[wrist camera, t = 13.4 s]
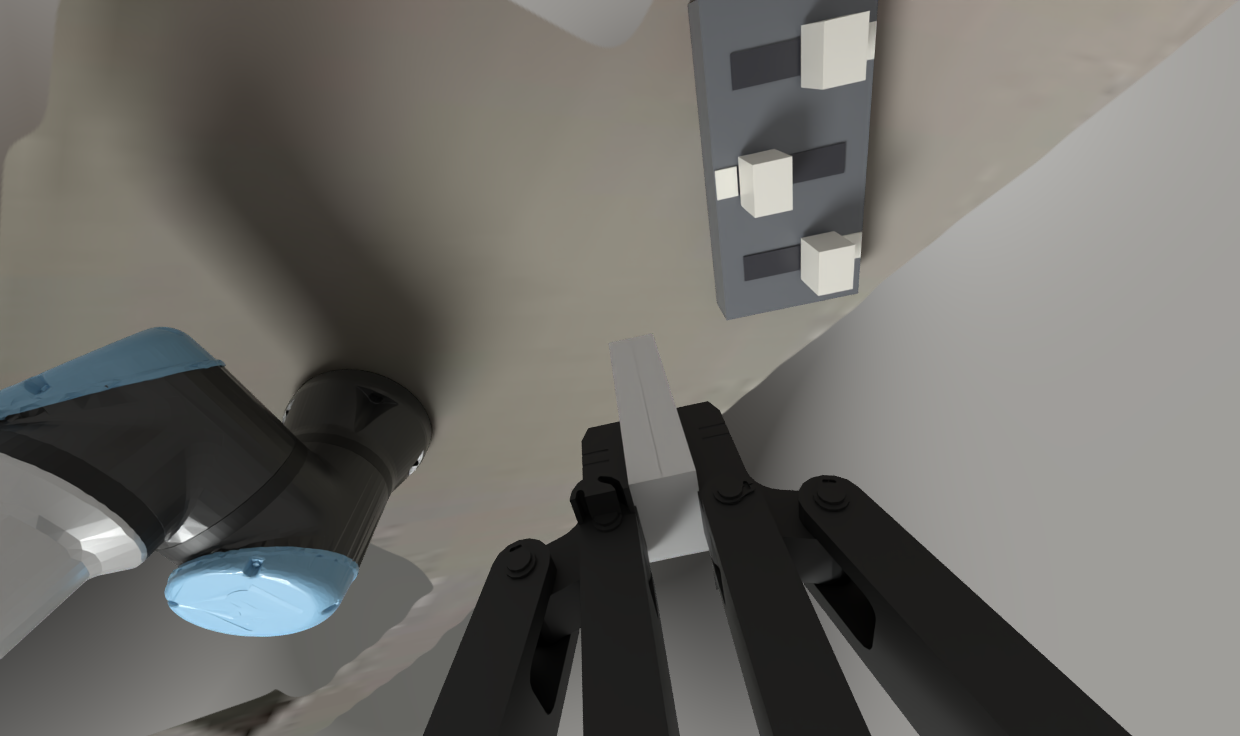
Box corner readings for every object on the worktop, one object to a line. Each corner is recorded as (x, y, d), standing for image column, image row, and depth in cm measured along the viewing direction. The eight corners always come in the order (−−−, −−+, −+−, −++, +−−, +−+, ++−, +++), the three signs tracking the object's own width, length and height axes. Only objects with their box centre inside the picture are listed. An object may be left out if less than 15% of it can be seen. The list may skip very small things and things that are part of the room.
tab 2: (800, 87, 38) (822, 89, 35) (801, 25, 36) (824, 21, 32) (839, 78, 38) (865, 79, 34) (842, 16, 36) (869, 10, 32)
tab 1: (741, 205, 42) (755, 217, 39) (737, 156, 40) (752, 165, 37) (775, 198, 42) (792, 209, 39) (774, 148, 40) (792, 156, 37)
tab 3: (800, 279, 46) (818, 295, 43) (800, 238, 44) (819, 252, 41) (832, 272, 46) (852, 288, 43) (834, 230, 44) (855, 244, 41)
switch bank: (717, 303, 52) (727, 321, 48) (687, 4, 38) (698, -2, 35) (839, 278, 51) (859, 294, 48) (854, -35, 38) (882, -45, 34)
